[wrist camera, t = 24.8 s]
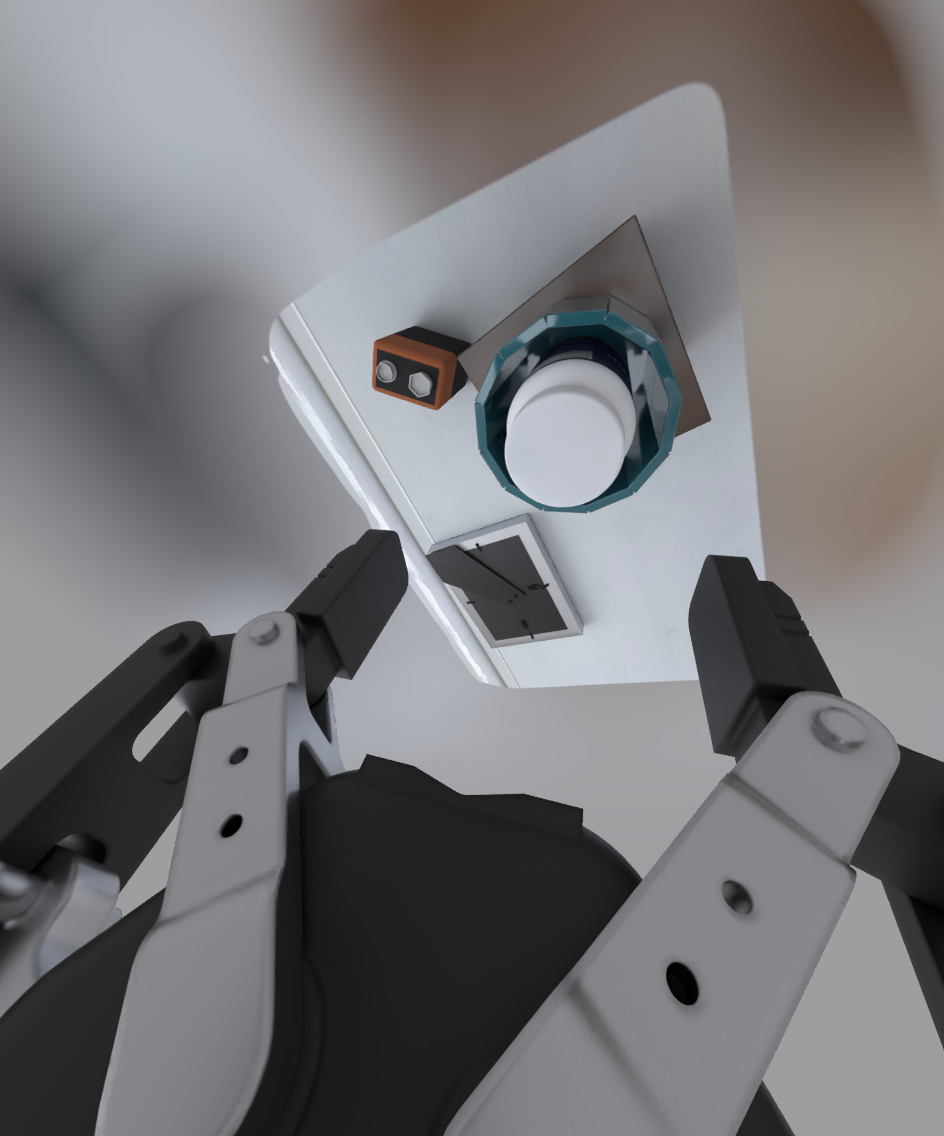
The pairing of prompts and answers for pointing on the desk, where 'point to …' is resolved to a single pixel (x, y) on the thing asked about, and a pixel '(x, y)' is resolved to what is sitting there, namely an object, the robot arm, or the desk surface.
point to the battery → (419, 366)
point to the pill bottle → (571, 423)
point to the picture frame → (507, 583)
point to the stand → (612, 272)
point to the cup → (649, 385)
